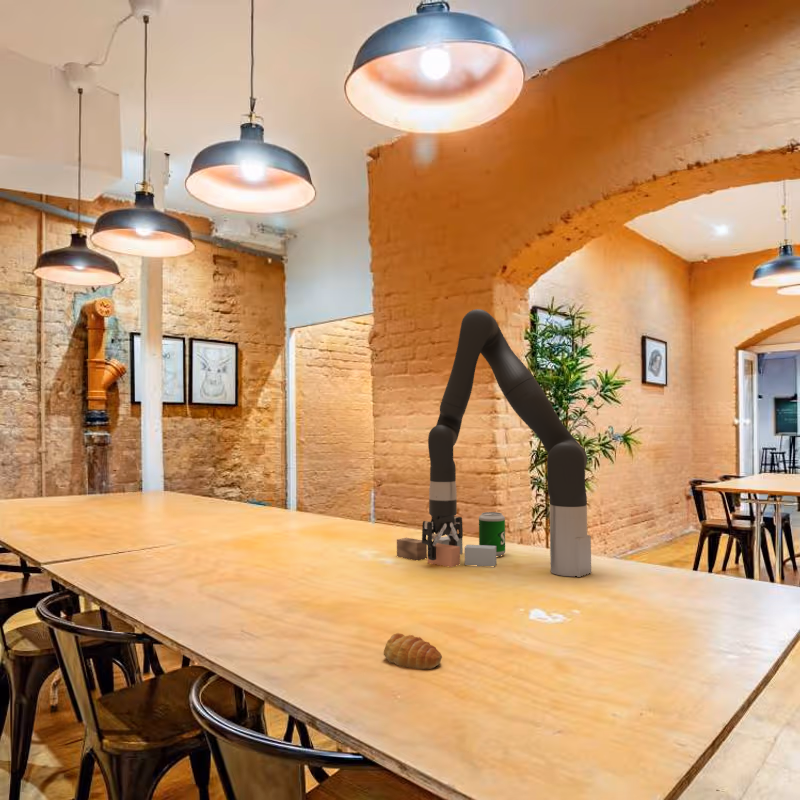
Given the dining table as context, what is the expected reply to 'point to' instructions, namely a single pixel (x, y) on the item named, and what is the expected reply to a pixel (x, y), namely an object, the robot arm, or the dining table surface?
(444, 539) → the slate brick
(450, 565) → the terracotta brick
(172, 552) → the dining table surface
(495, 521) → the soda can
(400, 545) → the walnut brick
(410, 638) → the pastry
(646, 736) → the dining table surface
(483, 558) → the blue-grey brick
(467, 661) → the dining table surface
